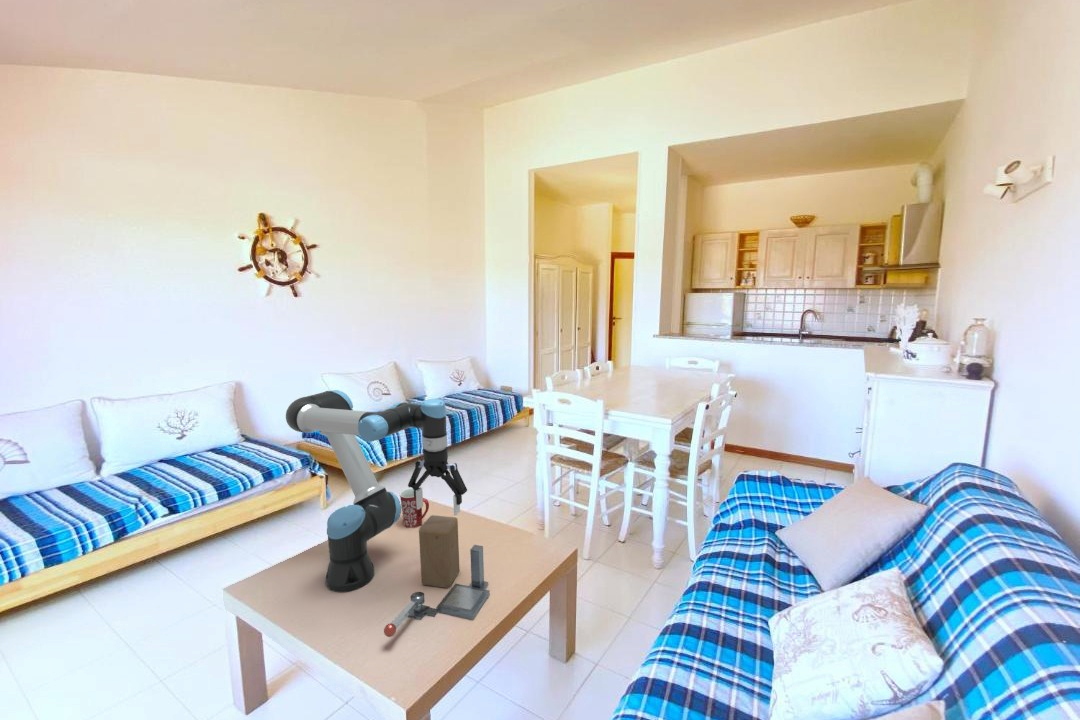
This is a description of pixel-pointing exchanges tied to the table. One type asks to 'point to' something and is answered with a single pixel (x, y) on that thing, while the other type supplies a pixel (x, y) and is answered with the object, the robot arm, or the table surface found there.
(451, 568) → the wooden block
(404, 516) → the mug
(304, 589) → the table surface
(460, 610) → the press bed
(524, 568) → the table surface
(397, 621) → the lever
